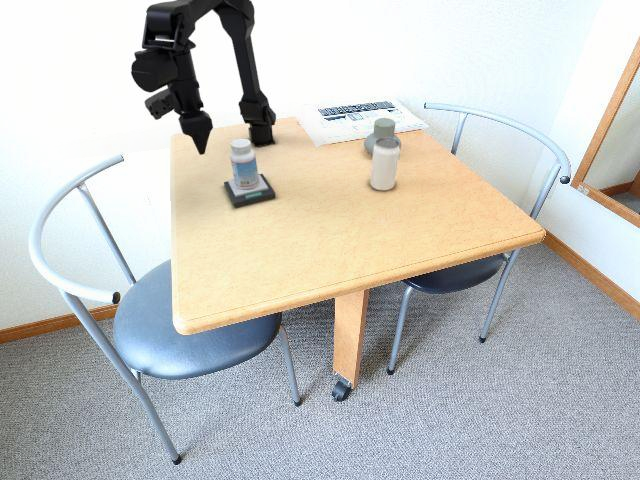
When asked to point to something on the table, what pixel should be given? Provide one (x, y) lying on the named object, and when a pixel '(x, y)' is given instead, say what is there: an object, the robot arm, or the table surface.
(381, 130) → the air freshener
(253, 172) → the pill bottle
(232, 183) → the scale
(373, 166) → the can
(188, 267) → the table surface
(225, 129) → the table surface
